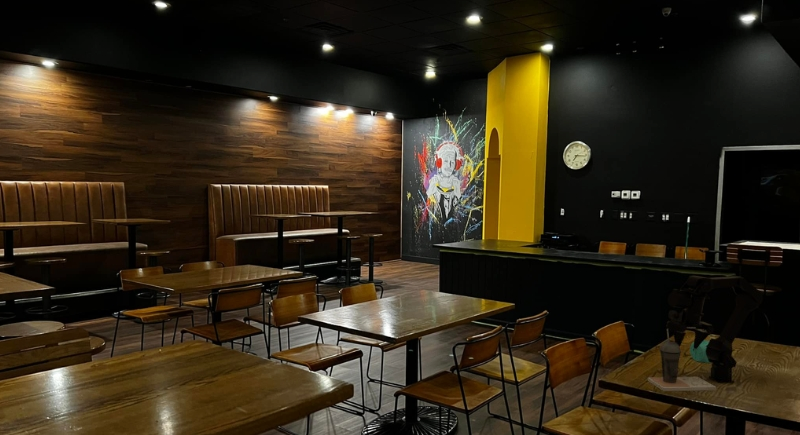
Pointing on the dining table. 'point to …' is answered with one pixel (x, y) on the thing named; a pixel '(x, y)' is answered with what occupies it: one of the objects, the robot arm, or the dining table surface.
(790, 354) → the dining table surface
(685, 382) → the baseplate
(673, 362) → the beverage cup
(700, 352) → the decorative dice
